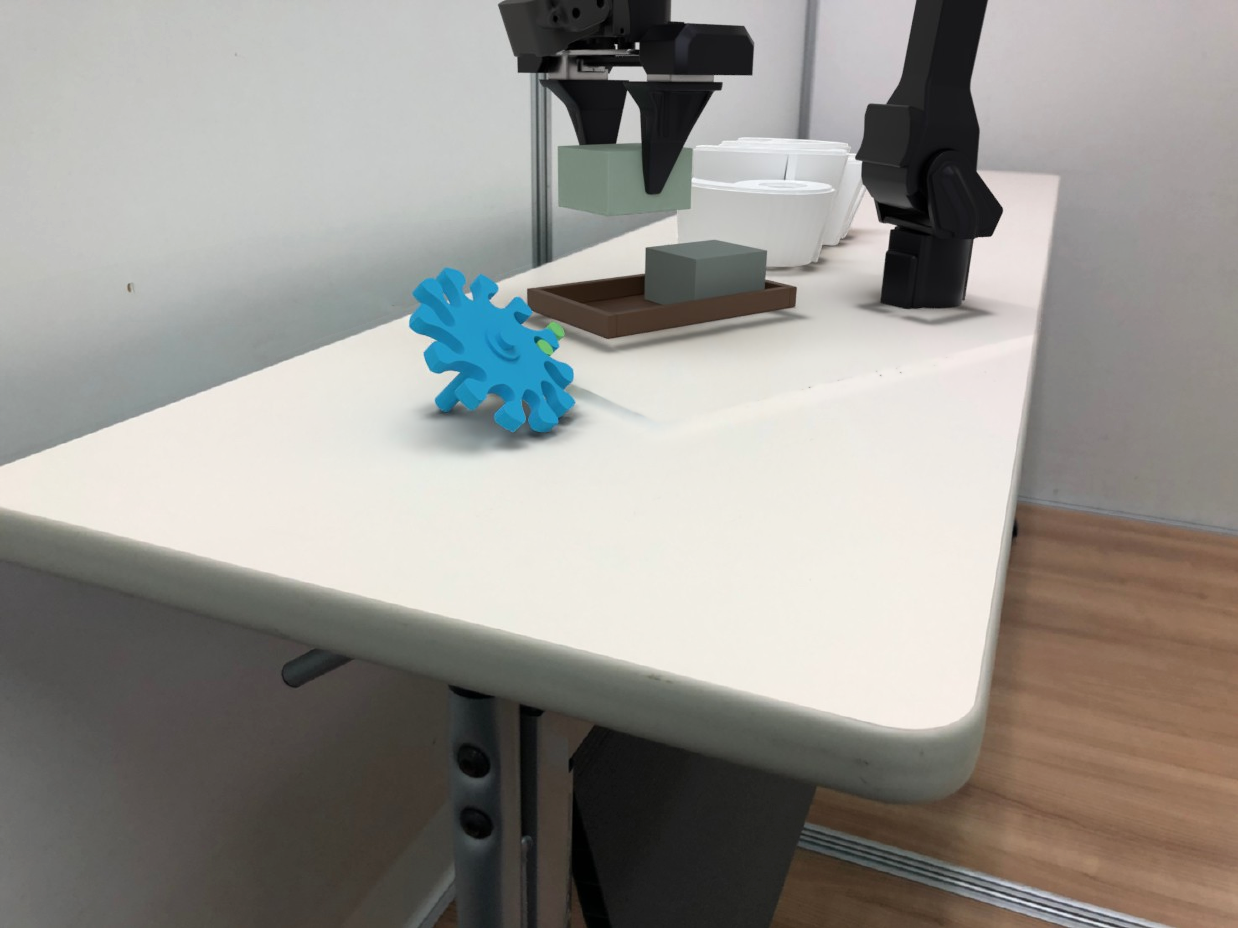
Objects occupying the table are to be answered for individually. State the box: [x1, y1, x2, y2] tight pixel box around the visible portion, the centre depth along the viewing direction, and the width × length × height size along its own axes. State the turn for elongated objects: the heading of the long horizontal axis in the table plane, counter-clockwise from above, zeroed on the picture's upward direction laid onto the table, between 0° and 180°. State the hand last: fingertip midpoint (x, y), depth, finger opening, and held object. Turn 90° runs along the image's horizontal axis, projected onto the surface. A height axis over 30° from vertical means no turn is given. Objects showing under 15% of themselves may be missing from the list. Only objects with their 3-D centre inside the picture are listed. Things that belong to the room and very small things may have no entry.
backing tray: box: [526, 273, 798, 340], centre depth 72 cm, size 17×10×2 cm, turn 126°
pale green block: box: [557, 142, 694, 217], centre depth 66 cm, size 7×6×4 cm
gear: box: [408, 267, 577, 433], centre depth 51 cm, size 11×6×10 cm
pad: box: [644, 240, 767, 305], centre depth 74 cm, size 7×6×4 cm
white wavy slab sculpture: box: [676, 136, 868, 268], centre depth 100 cm, size 35×16×11 cm, turn 155°
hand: (624, 189), depth 66 cm, fingers closed on pale green block, 6 cm apart
